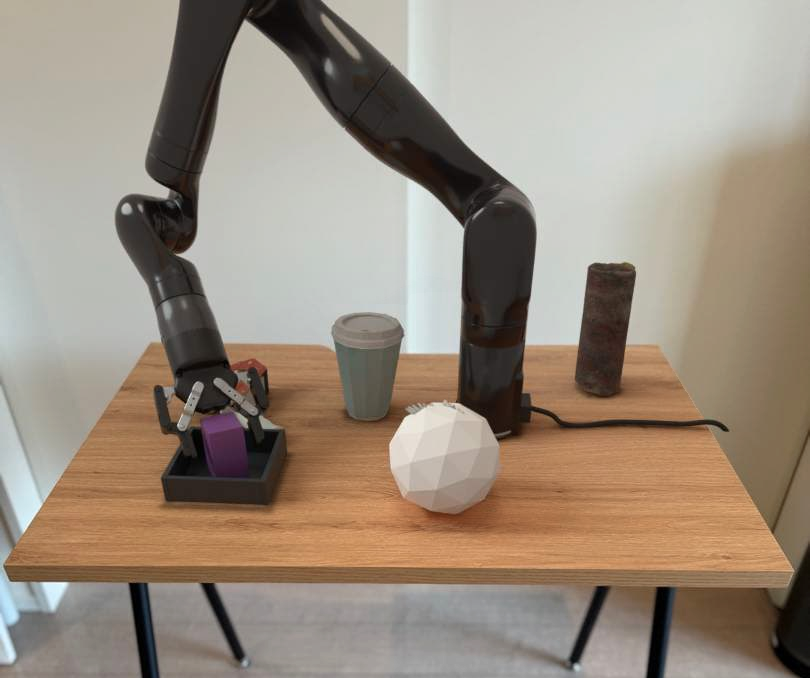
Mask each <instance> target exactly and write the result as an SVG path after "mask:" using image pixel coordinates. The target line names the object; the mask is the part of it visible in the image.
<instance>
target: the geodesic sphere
mask: <svg viewBox="0 0 810 678" xmlns="http://www.w3.org/2000/svg"><path fill="white" fill-rule="evenodd" d="M404 409H405V411H407V412H408V413H409V414H408V415H406V416H405V417H404V418H403V419H402V421H401V423H400V425H399V426H398V429H397V430H396V432H395V434H394V435H393V437H392V439H391V440H390V442H389V444H388V445H389V464H390V465H389V466H390V471H391V473H392V476H393V478H394V480H395V483H396V485H397V487H398V490H399V492H400V493H401V496H402V498H403V499H404V500H406V501H409V502H411V503H413V504H414V505H417V506H419V507H421V508H422V509H426V510H428V511H429V512H435V513H443V514H451V515H458V514H460V513H461V512H463V511H465V510H467V509H469V508H472V507H473V506H475V505H477V504H479V503H480V502H482V501H484V500H485V499H486V497H487V496H488V493H489V492H490V490H491V488H492V487H493V486H494V483H495V482H496V480H497V478H498V477H499V475H500V473H501V466H500V465H501V464H500V463H501V462H500V461H501V460H500V458H501V457H500V444H499V442H498V439H496V438H495V436H494V434H493V432H492V430H491V428H490V426H489V424H488V422H487V420H486V419H485V418H484V417H482V416H480V415H479V414H477V413H475V412H473V411H472V410H470V409H468V408H466V407H465V406H463V405H461V404H459V403H456V402H451V401H447V400H446V399H443V401H442V402H430V403H428V404H426V403H425V402H422V404H421V403H420V402H417V405H416V404H413V403H412V404H411V406H407V407H405V408H404Z"/></svg>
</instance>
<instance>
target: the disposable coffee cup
mask: <svg viewBox="0 0 810 678" xmlns="http://www.w3.org/2000/svg"><path fill="white" fill-rule="evenodd" d="M330 331H331V332H330V334H331V337H332V340H333V343H334V350H335V356H336V360H337V366H338V372H339V373H338V374H339V378H340V383H341V389H342V395H343V400H344V407H345V409H346V412H347V413H348V416H349V417H351V418H353V419H354V420H357V421H361V422H373V421H374V422H375V421H379V420H381V419H383V418H385V417H386V415H387V414H388V412H389V410H390V408H391V403H392V397H393V392H394V386H395V379H396V376H397V375H396V374H397V369H398V363H399V357H400V352H401V348H402V347H401V346H402V341H403V339H404V337H405V330H404V328H403V326H402V324H401V322H400V321H399V320H398V318H397V317H394V316H391V315H389V314H386V313H381V312H374V311H373V312H372V311H364V312H362V311H361V312H351V313H348V314H344V315H341V316H340V317H338V318H337V319H336V320H335V321H334V324H333V325H332V326H331V330H330Z"/></svg>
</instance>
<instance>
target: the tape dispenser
mask: <svg viewBox="0 0 810 678" xmlns="http://www.w3.org/2000/svg"><path fill="white" fill-rule="evenodd" d="M230 366H231V369H232V370H233V371H234V372H236V374H237V373H241V372H245V371H248V369H249V368H250V367H254V368H256V370H257V372H258V375H259V377H260V380H261V382H262V385H263V388H264V390H265V393H266V395H267V397H268V395H269V394H270V386H269V375H268V368H267V366H265V364H263V363H261V362H260V361H259V360H257V359H256V358H254V357H253V358H248V359H244V360H240V361H237V362H235V363H232V364H230ZM235 390H236V391H237V392H238V393H239V394H241V395H242V396H243V397H244V398H245V399H246V400H247V401H248V402H249V403H250V404H252V405H253V406H256V404H255V401H254V398H253V396H252V393H251V391H250V388H246V387H245V386H244V385H243V384H242V383H240V382H238V383H237V386H236V389H235ZM235 397H236V396H235ZM229 412H234V414H235V415H236V417H237V418H238V420H239V421H240V423H241V424H242V426H243V428H248V425H247V422H248V420H247V419H246V418H245V417H244V416H242V415H241V414H240V413H237V412H235V411H233V410H232V409H231V408H230V407H226V408H225V410H221V411H219V413H220V414H224V413H229ZM214 413H216V411H211V412H209V413H206V414H205V415H208V414H214ZM259 419H260V423H261V426H262V429H284V428H283V426H281V425H277V424H274V423H273V422H272V421H271V420H270V419H267V418H265V417H264V415H263V414H262V415H261V416H259Z"/></svg>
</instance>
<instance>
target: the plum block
mask: <svg viewBox="0 0 810 678" xmlns="http://www.w3.org/2000/svg"><path fill="white" fill-rule="evenodd" d="M199 425H200V427H201V431H202V436H203V442H204V448H205V453H206V459H207V465H208V471H209V472H210V474H211V476H212V477H223V478H250V474H249V467H248V459H247V452H246V445H245V438H244V430H243V428H244V427H243V425H242V424H241V423H240V421H239V420H238V418H237V417H236V415H235V414H234V412H229V413H224V414H216V415H210V416H206V417H201V418H199Z"/></svg>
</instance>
